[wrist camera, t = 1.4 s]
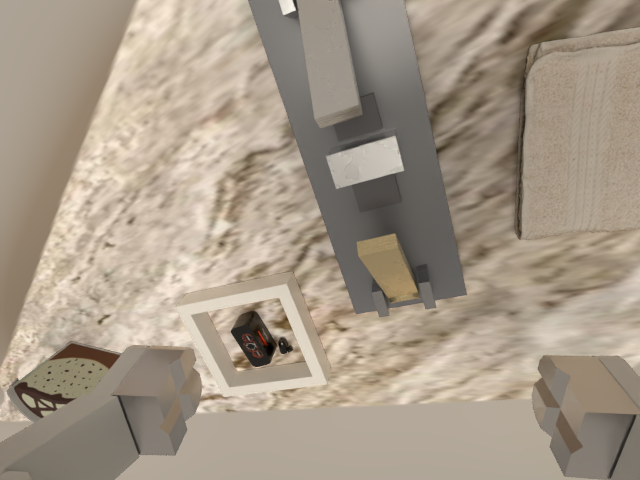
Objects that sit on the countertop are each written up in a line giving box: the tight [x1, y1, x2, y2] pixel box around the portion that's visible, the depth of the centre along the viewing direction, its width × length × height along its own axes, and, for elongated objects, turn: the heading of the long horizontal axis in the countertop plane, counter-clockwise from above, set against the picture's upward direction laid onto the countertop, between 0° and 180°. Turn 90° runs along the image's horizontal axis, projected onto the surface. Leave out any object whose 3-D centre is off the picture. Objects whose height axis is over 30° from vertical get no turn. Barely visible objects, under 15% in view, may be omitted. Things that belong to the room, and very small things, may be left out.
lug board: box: [248, 0, 467, 317], centre depth 36 cm, size 12×34×6 cm, turn 18°
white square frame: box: [175, 271, 331, 397], centre depth 50 cm, size 15×15×3 cm
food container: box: [7, 341, 122, 423], centre depth 54 cm, size 12×6×10 cm, turn 81°
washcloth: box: [515, 27, 640, 240], centre depth 34 cm, size 12×18×3 cm, turn 10°
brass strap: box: [357, 233, 420, 303], centre depth 35 cm, size 3×13×2 cm
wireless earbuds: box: [231, 312, 293, 367], centre depth 50 cm, size 5×7×3 cm, turn 26°
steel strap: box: [297, 0, 363, 128], centre depth 28 cm, size 3×13×2 cm
